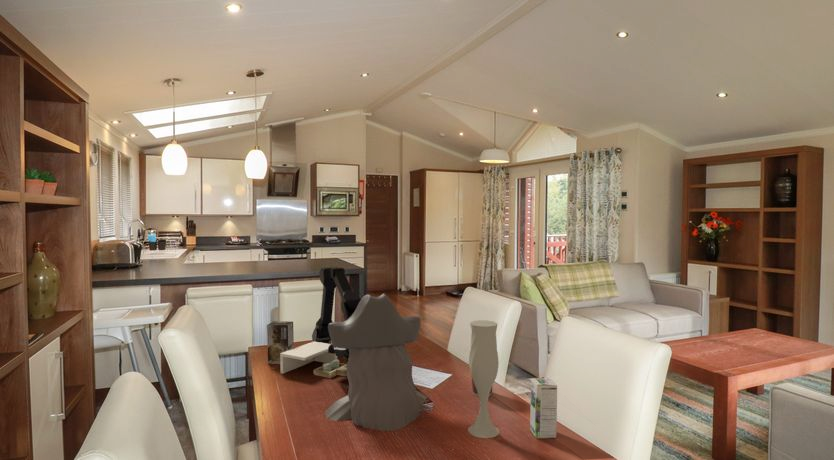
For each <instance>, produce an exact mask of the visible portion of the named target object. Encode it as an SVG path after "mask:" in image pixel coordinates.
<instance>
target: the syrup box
mask: <svg viewBox="0 0 834 460" xmlns="http://www.w3.org/2000/svg"><path fill="white" fill-rule="evenodd" d="M529 407H530V408H529V409H530V411H529V414H530V415H529V418H530V419H529V423H530V424H529V430H530V431H531V433H532V434H533V436H534V437H535V438H536V439H552V438H554V439H555V438H557V428H558V427H557V421H558V420H557V419H558V416H557V415H558V411H557V410H558V385H557V384H556V383H555V381H553V380H552V379H551V378H547V377H535V378H531V379H530V406H529Z"/></svg>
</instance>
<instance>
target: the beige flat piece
mask: <svg viewBox="0 0 834 460" xmlns="http://www.w3.org/2000/svg"><path fill="white" fill-rule="evenodd" d="M330 363H331V362H330ZM313 376H318V377H324V378H328V379H332V378H334V377H336V376H341V377H347V363H342V362H339V368H337V369H335V370H333V371H331V372H328V371H323V365H321V366H319V367H317V368H314V369H313Z"/></svg>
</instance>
